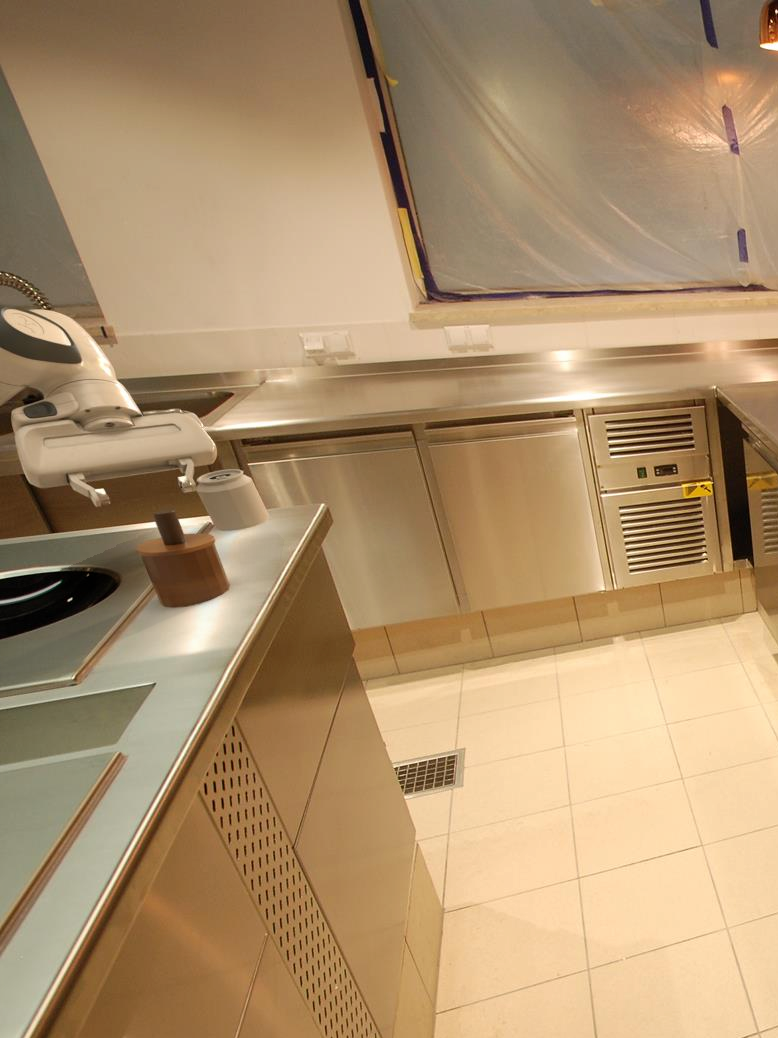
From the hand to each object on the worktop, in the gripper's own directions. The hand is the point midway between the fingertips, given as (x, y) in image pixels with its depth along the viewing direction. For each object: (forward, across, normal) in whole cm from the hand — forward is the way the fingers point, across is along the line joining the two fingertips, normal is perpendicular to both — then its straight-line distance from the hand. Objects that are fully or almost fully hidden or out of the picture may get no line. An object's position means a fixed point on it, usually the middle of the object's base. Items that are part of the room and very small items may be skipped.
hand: (148, 496), depth 117 cm
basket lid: (+8, 0, -1) cm, 8 cm away
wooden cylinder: (+14, 0, -7) cm, 16 cm away
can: (-4, -15, -25) cm, 29 cm away
